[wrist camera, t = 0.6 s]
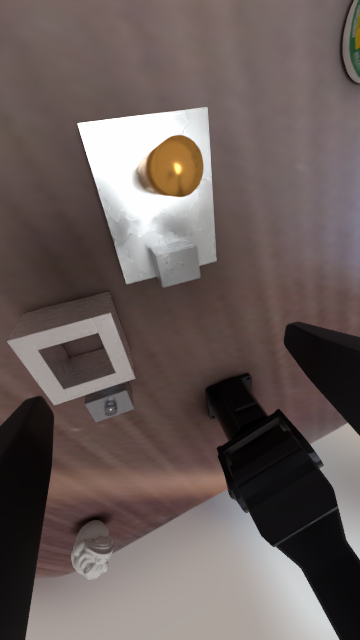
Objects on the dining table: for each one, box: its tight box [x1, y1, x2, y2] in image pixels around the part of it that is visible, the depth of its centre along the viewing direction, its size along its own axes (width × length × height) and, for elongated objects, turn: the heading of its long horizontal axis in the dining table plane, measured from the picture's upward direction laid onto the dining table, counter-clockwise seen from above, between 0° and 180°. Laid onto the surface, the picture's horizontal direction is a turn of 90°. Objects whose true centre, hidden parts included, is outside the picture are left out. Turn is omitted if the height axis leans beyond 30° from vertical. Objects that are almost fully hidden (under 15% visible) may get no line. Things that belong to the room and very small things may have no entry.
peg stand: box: [77, 107, 217, 288], centre depth 14 cm, size 10×8×6 cm
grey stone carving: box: [71, 520, 114, 580], centre depth 35 cm, size 6×7×7 cm
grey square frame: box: [7, 291, 135, 405], centre depth 18 cm, size 7×7×4 cm
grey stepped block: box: [85, 381, 134, 422], centre depth 22 cm, size 6×4×3 cm
